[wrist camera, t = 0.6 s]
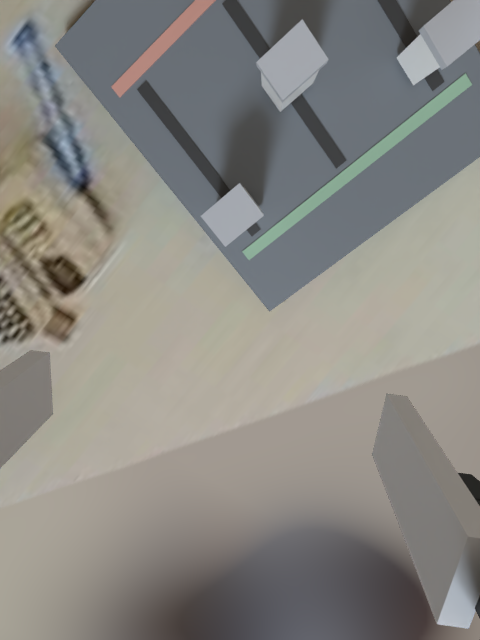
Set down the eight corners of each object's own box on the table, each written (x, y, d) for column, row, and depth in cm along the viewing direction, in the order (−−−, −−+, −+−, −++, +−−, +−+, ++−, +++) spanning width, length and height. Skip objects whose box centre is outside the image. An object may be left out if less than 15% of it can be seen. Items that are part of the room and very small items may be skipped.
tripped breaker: (258, 85, 32) (256, 62, 26) (295, 51, 31) (302, 19, 25) (279, 116, 32) (282, 100, 26) (316, 83, 31) (328, 59, 25)
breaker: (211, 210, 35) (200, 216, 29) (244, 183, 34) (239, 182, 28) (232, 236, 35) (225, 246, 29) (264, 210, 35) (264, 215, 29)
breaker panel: (66, 53, 34) (54, 45, 32) (309, -215, 28) (312, -245, 26) (269, 305, 40) (269, 311, 38) (506, 129, 34) (521, 126, 32)
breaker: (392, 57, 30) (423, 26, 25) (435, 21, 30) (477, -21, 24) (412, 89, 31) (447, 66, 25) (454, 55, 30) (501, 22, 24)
